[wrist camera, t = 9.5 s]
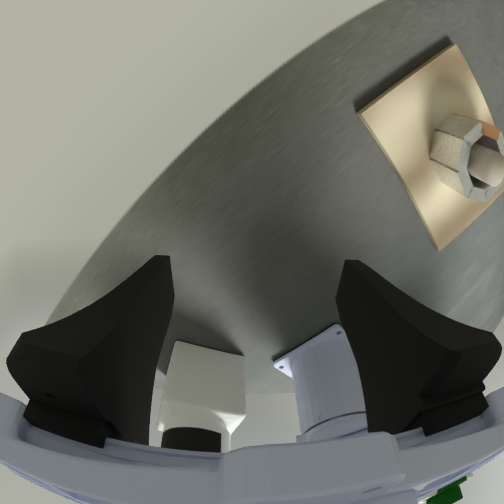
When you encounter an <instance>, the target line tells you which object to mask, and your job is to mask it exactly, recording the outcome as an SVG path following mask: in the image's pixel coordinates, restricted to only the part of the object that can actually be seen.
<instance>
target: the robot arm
mask: <svg viewBox="0 0 504 504" xmlns="http://www.w3.org/2000/svg"><path fill="white" fill-rule="evenodd" d="M174 297H175V295H174V288H173V280H172V272H171V263H170V256H164V255H155V256H154V257H152V258H151V259H150V260H149V261H148V262H146V263H145V264H144V265H143V266H142V267H141V268H139V269H138V270H137V271H136V272H135V273H133V274H132V275H131V276H130V277H129V278H127V279H126V280H125V281H124V282H122V283H121V284H120V285H118V286H117V287H116V288H115V289H113V290H112V291H111V292H109V293H108V294H106V295H105V296H103V297H102V298H100V299H99V300H97V301H96V302H94V303H92V304H91V305H89V306H87V307H85V308H83V309H82V310H80V311H78V312H76V313H74V314H72V315H70V316H68V317H66V318H63V319H61V320H59V321H56V322H54V323H51V324H49V325H46V326H43V327H40V328H37V329H34V330H31V331H27V332H24V333H22V334H21V336H20V338H19V339H18V340H17V342H16V344H15V345H14V347H13V349H12V350H11V352H10V354H9V356H8V357H7V360H6V364H7V367H8V370H9V372H10V374H11V375H12V377H13V378H14V380H15V381H16V382H17V384H18V385H19V386H20V388H21V389H22V390H23V391H24V393H25V394H26V395H27V396H28V398H29V399H30V400H29V402H28V405H27V406H26V405H25V404H24V403H22V402H21V401H19V400H16V399H14V398H12V397H9V396H7V395H5V394H3V393H0V463H1V464H2V465H4V466H5V467H7V468H8V469H9V470H11V471H12V472H14V473H15V474H17V475H19V476H21V477H23V478H24V479H26V480H29V481H30V482H33V483H34V484H36V485H39V486H40V487H43V488H45V489H47V490H49V491H51V492H53V493H56V494H58V495H60V496H63V497H65V498H67V499H70V500H72V501H75V502H77V503H80V504H418V501H417V498H420V497H422V496H425V495H427V494H429V493H431V492H434V491H436V490H438V489H440V488H442V487H444V486H446V485H448V484H450V483H452V482H454V481H456V480H458V479H460V478H462V477H464V476H465V475H467V474H469V473H471V472H473V471H474V470H476V469H478V468H480V467H481V466H483V465H485V464H486V463H488V462H489V461H491V460H493V459H494V458H495V457H497V456H498V455H499V454H501V453H502V452H503V451H504V387H502V388H500V389H498V390H496V391H494V392H492V393H490V394H489V395H487V396H486V397H484V395H483V393H482V391H484V390H485V385H484V384H483V382H482V381H483V380H484V379H485V378H486V376H487V375H488V374H489V372H490V371H491V370H492V369H493V367H494V366H495V364H496V363H497V361H498V360H499V358H500V356H501V352H502V346H501V344H500V342H499V341H498V340H497V338H496V337H495V335H494V334H493V333H492V332H488V331H485V330H481V329H478V328H474V327H471V326H468V325H465V324H462V323H460V322H457V321H455V320H452V319H450V318H448V317H446V316H444V315H441V314H439V313H437V312H435V311H433V310H431V309H430V308H428V307H426V306H424V305H423V304H421V303H419V302H417V301H416V300H414V299H413V298H411V297H410V296H408V295H407V294H405V293H404V292H402V291H401V290H399V289H398V288H397V287H395V286H394V285H392V284H391V283H390V282H388V281H387V280H386V279H384V278H383V277H382V276H380V275H379V274H378V273H376V272H375V271H374V270H372V269H371V268H370V267H368V266H367V265H365V264H364V263H362V262H361V261H359V260H345V263H344V267H343V271H342V275H341V279H340V283H339V287H338V291H337V295H336V298H335V299H336V303H337V308H338V312H339V316H340V320H341V322H342V325H343V328H344V329H343V328H342V327H341V326H340V325H339V324H335V325H333V326H331V327H330V328H328V329H327V330H325V331H323V332H322V333H320V334H319V335H317V336H316V337H314V338H312V339H311V340H309V341H308V342H306V343H304V344H303V345H301V346H299V347H298V348H296V349H294V350H293V351H291V352H289V353H288V354H286V355H284V356H283V357H281V358H279V359H277V360H276V361H274V363H273V364H274V367H275V368H277V369H278V370H280V371H281V372H283V373H285V374H286V375H288V376H289V377H291V378H293V383H294V390H295V396H296V402H297V409H298V416H299V423H300V429H301V435H298V436H296V440H297V443H286V444H266V445H258V446H248V447H242V448H239V449H236V450H232V451H229V452H227V453H215V452H198V451H187V450H177V449H168V448H161V447H154V446H149V424H150V412H151V402H152V393H153V386H154V379H155V373H156V367H157V363H158V358H159V355H160V352H161V348H162V345H163V342H164V338H165V335H166V332H167V328H168V325H169V322H170V318H171V314H172V309H173V303H174ZM338 331H339V332H338Z"/></svg>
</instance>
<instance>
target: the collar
mask: <svg viewBox="0 0 504 504" xmlns="http://www.w3.org/2000/svg"><path fill="white" fill-rule="evenodd" d="M435 130H436V131H435ZM435 130H433V135H432V142H431V149H430V155H429V157H430V158H431V159H430V162H431V164H432V166H433V168H434V170H435V172H436V174H437V176H438V178H439V180H440V181H441V182H442V183H444V184H445V185H447V186H449V187H450V188H452V189H454V190H455V191H457V192H459V193H460V194H462V195H463V196H465V197H467V198H468V199H474V200H479V201H483V202H485V201H488V200H489V199H490V198H491V197H492V196H493V195H494V194H495V193H496V192H497V191H498V190H499V188H500V187H501V186H502V183H504V178H503V180H502V182H501V183H500V184H499V185H498V186H495V187H493V186H490V185H488V184H487V183H485V182H483V181H481V180H479V179H477V178H476V177H474V176H472V175H470V174H468V171H467V165H468V159H469V154H470V148H471V146H472V145H473V144H474V143H476V144H479V145H481V146H484V147H486V148H489V149H491V150H494V151H496V152H499V153H501V154H502V155H503V157H504V138H503V134H502V132H501V130H500V129H499V128H497V127H495V126H493V125H490V124H488V123H486V122H484V121H481V120H477V119H473V118H469V117H465V116H461V115H457V114H450V115H449V116H448V117H447V118H445V119H444V120H443V121H442V122H441V123H440V124H438V125H437V126H436V127H435Z"/></svg>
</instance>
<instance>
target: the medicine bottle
mask: <svg viewBox="0 0 504 504" xmlns="http://www.w3.org/2000/svg"><path fill="white" fill-rule="evenodd" d="M245 417H246V381H245V358H244V357H243V356H240V355H235V354H231V353H226V352H222V351H217V350H213V349H209V348H205V347H201V346H197V345H193V344H189V343H185V342H181V341H176V342H175V344H174V348H173V352H172V355H171V359H170V363H169V367H168V371H167V375H166V379H165V384H164V389H163V395H162V400H161V405H160V411H159V416H158V422H157V429H158V430H160V431H163V437H162V443H161V448H168V449H177V450H187V451H198V452H215V453H227V452H229V451H231V450H230V449H231V448H230V442H231V433H232V432H233V431H234V430H235V429H236V428H237V426H238V425H239V424H240V423H241V421H242V420H243V419H244V418H245Z"/></svg>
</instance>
